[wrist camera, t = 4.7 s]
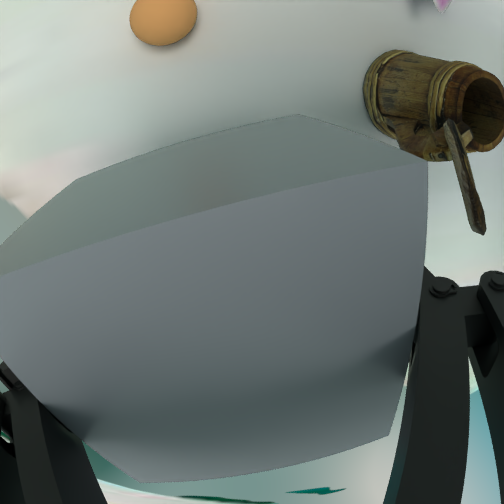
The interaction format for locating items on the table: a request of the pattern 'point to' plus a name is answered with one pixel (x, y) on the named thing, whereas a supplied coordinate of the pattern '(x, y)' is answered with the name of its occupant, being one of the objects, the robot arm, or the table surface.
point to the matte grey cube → (223, 299)
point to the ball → (162, 20)
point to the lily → (442, 4)
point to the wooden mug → (438, 113)
